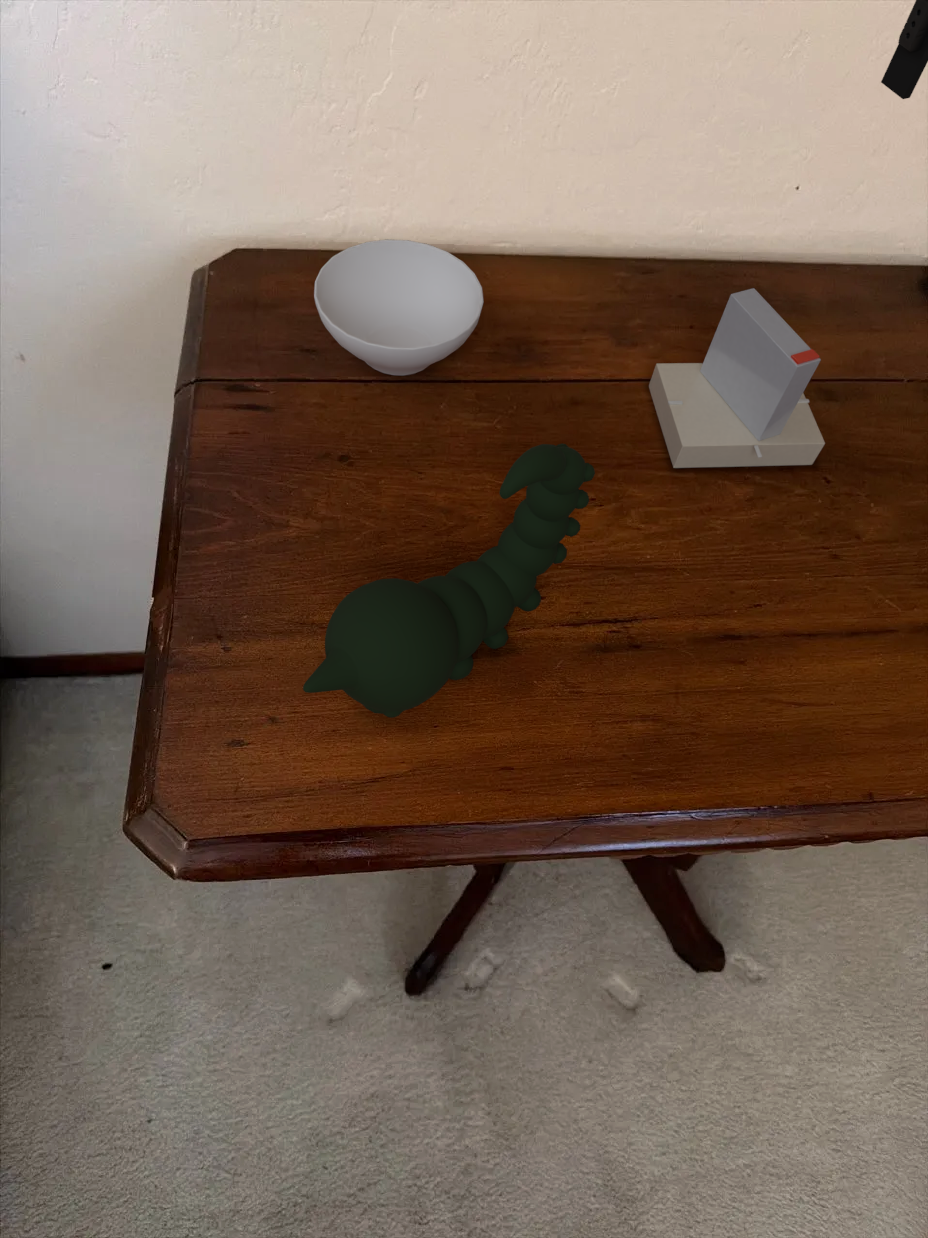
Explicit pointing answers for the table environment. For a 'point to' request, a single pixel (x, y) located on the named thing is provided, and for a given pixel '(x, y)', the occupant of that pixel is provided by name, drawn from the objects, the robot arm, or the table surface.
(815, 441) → the base
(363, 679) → the toy figurine
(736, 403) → the leaning grey slab
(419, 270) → the bowl
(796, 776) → the table surface
